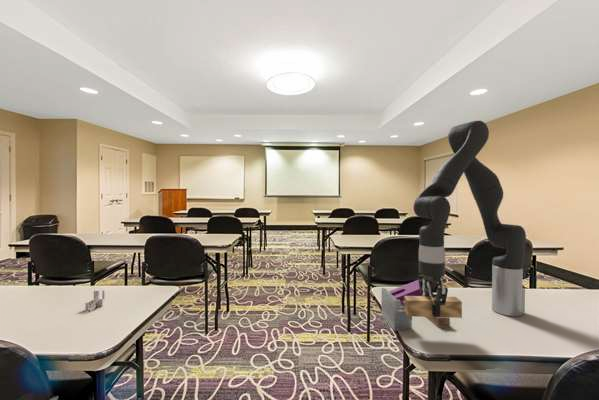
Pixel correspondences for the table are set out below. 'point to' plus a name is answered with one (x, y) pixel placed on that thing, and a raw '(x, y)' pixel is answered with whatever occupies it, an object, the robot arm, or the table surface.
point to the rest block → (440, 321)
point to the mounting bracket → (407, 291)
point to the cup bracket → (394, 312)
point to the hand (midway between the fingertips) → (431, 312)
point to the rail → (423, 307)
